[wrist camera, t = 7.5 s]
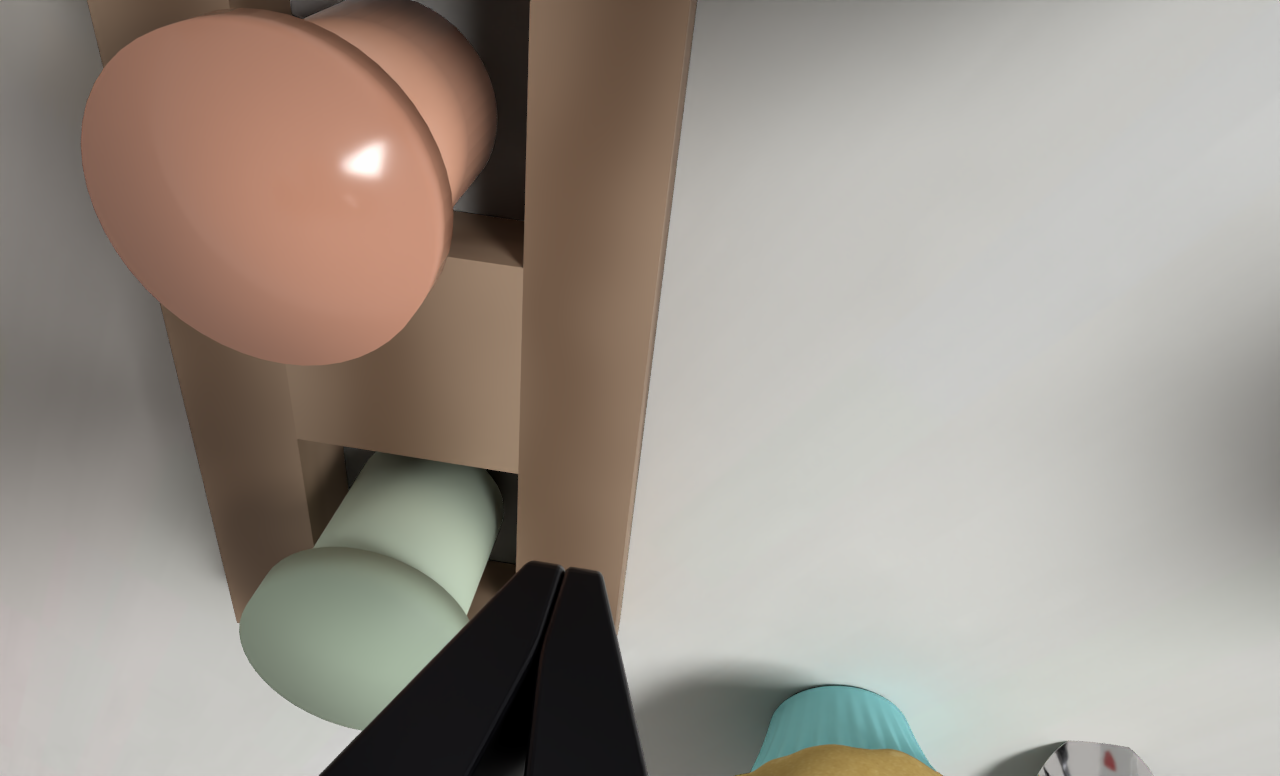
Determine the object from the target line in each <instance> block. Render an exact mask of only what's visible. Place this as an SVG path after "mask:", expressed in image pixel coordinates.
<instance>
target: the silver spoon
mask: <svg viewBox="0 0 1280 776" xmlns="http://www.w3.org/2000/svg"><path fill="white" fill-rule="evenodd" d="M1037 776H1154V775H1153V774H1152V772H1151V771H1150V769H1149V768H1148V766H1147V765H1146V764H1145V763H1144V761H1143V760H1142V759H1141V758H1140V757H1139V756H1138V755H1137V754H1136V753H1135V752H1134V751H1133V750H1131V749H1130V748H1129V747H1124V746H1118V745H1111V744H1103V743H1095V742H1084V741H1067V742H1065V743H1064V744H1062V745H1061V746H1060V747H1059V748H1058V749H1057V750H1056V751H1055V752H1054V753H1053V754H1052V755H1051V756H1050V757H1049V758H1048V760H1047V761H1046V762H1045V764H1044V765H1043V767H1042V768H1041V770H1040V771H1039V773H1038V774H1037Z"/></svg>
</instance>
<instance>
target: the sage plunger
mask: <svg viewBox="0 0 1280 776" xmlns="http://www.w3.org/2000/svg"><path fill="white" fill-rule="evenodd" d="M503 516H504V503H503V499H502V495H501V493H500V490H499V488H498V486H497V485H496V483H495V481H494V480H493V478H492V477H491V476H490V474H489V473H488V472H487V471H486V470H485V469H484V468H478V467H471V466H465V465H459V464H452V463H446V462H440V461H433V460H427V459H421V458H415V457H408V456H402V455H396V454H389V453H383V452H376V453H375V454H373V455H372V456H371V457H370V459H369V460H368V461H367V463H366V464H365V466H364V467H363V469H362V471H361V472H360V474H359V475H358V477H357V479H356V480H355V482H354V483H353V485H352V487H351V488H350V490H349V491H348V493H347V495H346V496H345V498H344V499H343V501H342V503H341V504H340V506H339V507H338V509H337V511H336V512H335V514H334V515H333V517H332V519H331V520H330V522H329V523H328V525H327V527H326V528H325V530H324V531H323V533H322V534H321V536H320V538H319V539H318V541H317V542H316V544H315V546H314V547H313V549H308V550H303V551H300V552H297V553H295V554H292V555H290V556H288V557H286V558H284V559H283V560H281V561H280V562H278V563H277V564H276V565H275V566H273V568H272V569H271V570H270V571H269V572H268V574H267V575H266V576H265V578H264V579H263V581H262V582H261V584H260V585H259V587H258V588H257V590H256V591H255V593H254V594H253V596H252V597H251V599H250V600H249V602H248V603H247V605H246V607H245V609H244V611H243V613H242V616H241V619H240V627H239V633H240V640H241V644H242V647H243V650H244V652H245V654H246V656H247V658H248V660H249V662H250V664H251V665H252V666H253V668H254V669H255V671H256V672H257V673H258V674H259V676H260V677H261V678H262V679H263V680H264V681H265V682H266V683H267V684H268V685H269V686H270V687H271V688H272V689H273V690H275V691H276V692H277V693H278V694H280V695H281V696H282V697H283V698H285V699H286V700H288V701H289V702H291V703H292V704H294V705H295V706H297V707H299V708H301V709H303V710H304V711H306V712H308V713H310V714H312V715H315V716H317V717H319V718H321V719H324V720H326V721H329V722H332V723H335V724H338V725H341V726H345V727H348V728H353V729H358V730H364V729H365V728H366V727H367V726H368V724H369V723H370V722H371V721H372V720H373V719H374V718H375V717H376V716H377V715H378V714H379V713H380V712H381V711H382V710H383V709H384V708H385V707H386V706H387V705H388V704H389V703H390V702H391V701H392V700H393V699H394V698H395V697H396V696H397V695H398V694H399V693H400V692H401V691H402V690H403V689H404V688H405V687H406V686H407V684H408V683H409V682H410V681H411V680H412V679H413V678H414V677H415V676H416V675H417V674H418V673H419V672H420V671H421V670H422V669H423V668H424V667H425V666H426V665H427V664H428V663H429V662H430V661H431V660H432V659H433V658H434V657H435V656H436V655H437V654H438V653H439V652H440V651H441V650H442V649H443V648H444V647H445V646H446V644H447V643H448V642H449V641H450V640H451V639H452V638H453V637H454V636H455V635H456V634H457V633H458V632H459V631H460V630H461V629H462V628H463V627H464V626H465V625H466V624H467V623H468V622H469V619H468V617H467V613H468V611H469V608H470V606H471V603H472V600H473V598H474V595H475V592H476V590H477V587H478V585H479V582H480V579H481V577H482V574H483V572H484V569H485V566H486V564H487V561H488V558H489V556H490V553H491V551H492V548H493V545H494V543H495V540H496V537H497V535H498V532H499V530H500V527H501V524H502V521H503Z"/></svg>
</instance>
